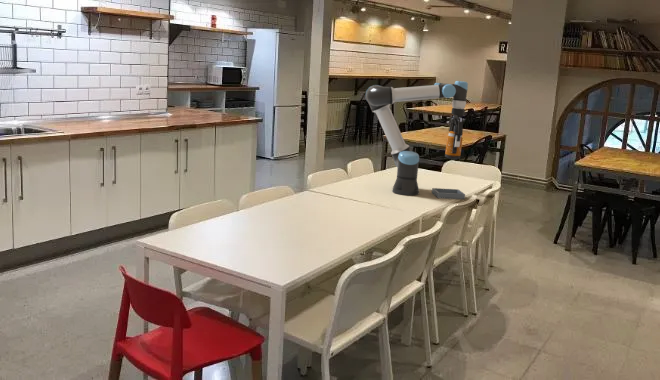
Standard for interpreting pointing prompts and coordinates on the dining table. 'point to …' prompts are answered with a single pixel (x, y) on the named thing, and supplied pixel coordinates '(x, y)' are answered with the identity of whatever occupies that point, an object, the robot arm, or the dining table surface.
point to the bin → (448, 193)
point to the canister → (453, 146)
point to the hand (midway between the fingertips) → (454, 145)
